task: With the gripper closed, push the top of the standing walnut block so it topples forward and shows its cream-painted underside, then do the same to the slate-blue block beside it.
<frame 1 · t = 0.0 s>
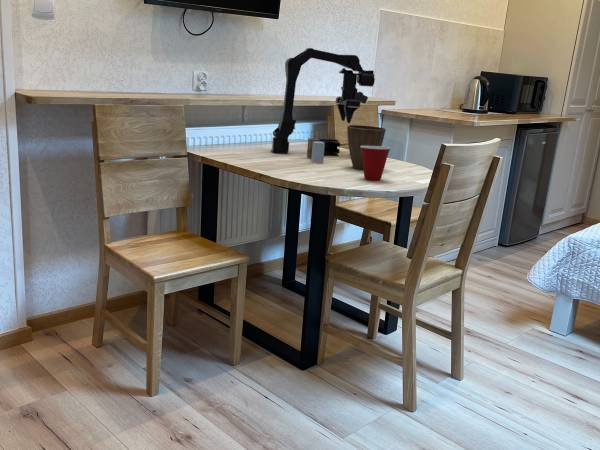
hand: (345, 121, 258), 15 cm above the table, fingers open, 9 cm apart
end cap: (326, 155, 260), on the table
walnut block: (312, 158, 247), on the table
plant pot: (362, 168, 232), on the table
plastic cup: (372, 179, 211), on the table
slate block: (317, 162, 238), on the table
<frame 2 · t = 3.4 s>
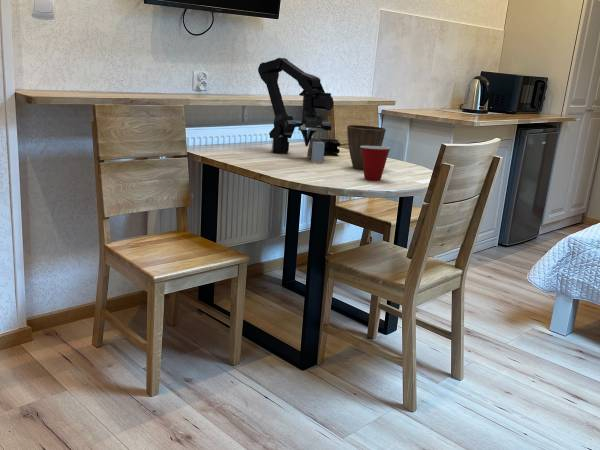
hand: (306, 146, 245), 5 cm above the table, fingers closed
walnut block: (312, 157, 247), on the table, tilted 7°, touching gripper
everything else where it was.
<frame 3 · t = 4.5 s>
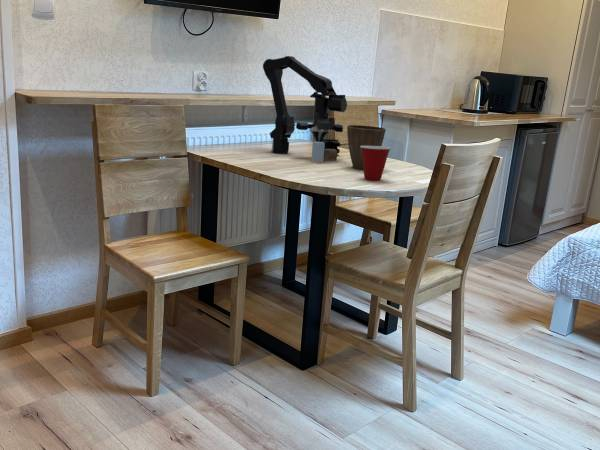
hand: (317, 147, 246), 5 cm above the table, fingers closed
walnut block: (317, 153, 247), point 2 cm above the table, tilted 90°
everything else where it was.
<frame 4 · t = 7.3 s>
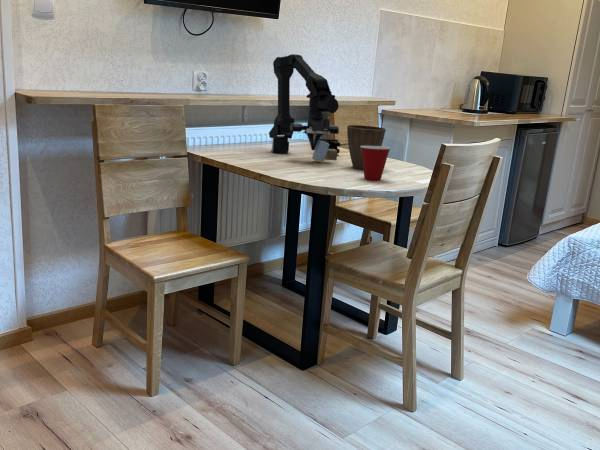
hand: (312, 150, 236), 5 cm above the table, fingers closed
slate block: (317, 160, 238), on the table, tilted 15°
everything else where it was.
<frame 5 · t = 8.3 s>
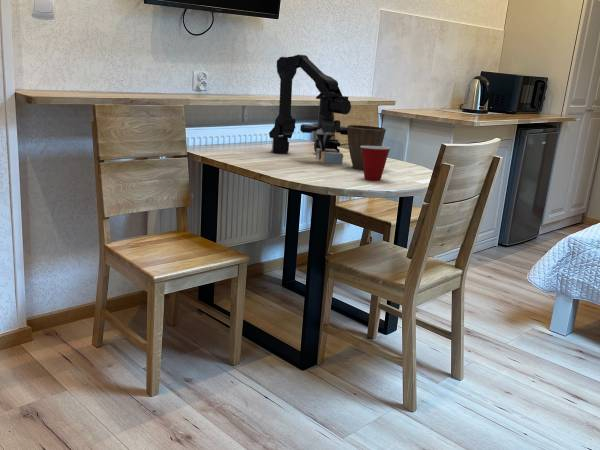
hand: (322, 151, 238), 5 cm above the table, fingers closed
slate block: (322, 157, 238), point 2 cm above the table, tilted 90°
everything else where it was.
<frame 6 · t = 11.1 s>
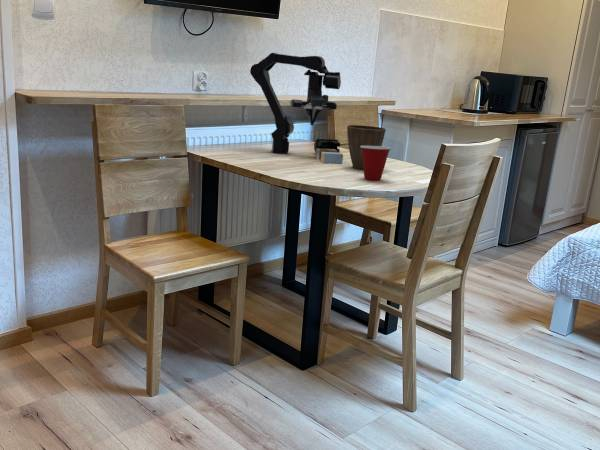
hand: (311, 125, 249), 13 cm above the table, fingers closed
nothing on the table moved.
at the end: walnut block tilted 90°; slate block tilted 90°; walnut block inside the target area (5.1 cm from its centre), point 1.9 cm above the table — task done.
